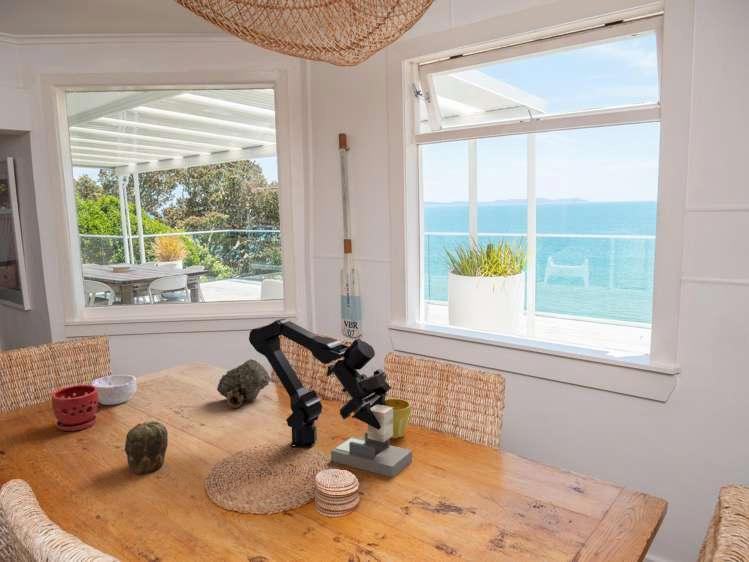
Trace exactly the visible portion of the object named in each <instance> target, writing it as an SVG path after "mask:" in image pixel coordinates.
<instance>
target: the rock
mask: <svg viewBox="0 0 749 562" xmlns="http://www.w3.org/2000/svg"><path fill="white" fill-rule="evenodd" d="M271 379H272V378H271V376H270V375H269V373H268V371H267V370H266V369H265V366H264V365H263V364H261V363H260V362H258V361H257V360H255V359H248V360H245V362H244V363H243V364H240V365H238V366H236V367H234V368H232V369H230V370H227V371H226V374H223V375H222V376H221V377H220V379H219V380H218V381H219V382H218V384H217V388H216V390H217V392H218V393H219V394H220V396H223V397H224V398H226V399H225V400H226V403H227V405H228V406H229V408H231V409H237V408H240V407H241V405H242V401H247V402H248V401H253V400H255V399H257V397H258V395H259V393H260V392H261V390H263V389H264V388H265V387H267V386H268V385H269V382H270V381H271ZM252 399H253V400H252Z"/></svg>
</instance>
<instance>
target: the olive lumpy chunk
mask: <svg viewBox="0 0 749 562" xmlns="http://www.w3.org/2000/svg"><path fill="white" fill-rule="evenodd" d="M168 436H169V434H168V429H167V427H166V426H165V425H164V424H163V423H162V422H159V421H157V420H151V421H148V420H147V421H144V422H143V423H138V424H135V426H134V427H132V428H131V429H129V431H127V434H126V438H125V446H124V451H125V454H126V458H127V465H128V469H130V471H131V472H132V473H134V474H138V475H144V474H147V473H148V474H149V473H151V472H155V471H157V470H159V469H160V468H161V467H162V466H163V465H164V463H165V457H166V453H167V448H168V443H169V442H168Z"/></svg>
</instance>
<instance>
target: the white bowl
mask: <svg viewBox="0 0 749 562" xmlns="http://www.w3.org/2000/svg"><path fill="white" fill-rule="evenodd" d="M90 385H91V386H95V387H96V388H97V390H98V403H100V404H101V405H104V406H112V405H113V406H114V405H119V404H124V403H126V402H128V401H129V400H130V399H131V397H132V395H133V394H135V393H136V392H137V390H138V388H137V386H138V384H137V377H136V376H134V375H131V374H112V375H111V374H110V375H106V376H103V377H99V378H97V379H94V380H92V381H91V383H90Z"/></svg>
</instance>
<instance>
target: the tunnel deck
mask: <svg viewBox="0 0 749 562" xmlns="http://www.w3.org/2000/svg"><path fill="white" fill-rule="evenodd" d="M390 439H391V438H389V439H388V440H386V441H385V442H380V441H377V440H373V439H369V438H368V431H365V432H364V438H361V437H356V436H350V437H349V438H347V440H345V441H343V442H342V443H340V444H338V446H336V447H334V448H332V449H331V450H330V460H332V461H331V462H334V463H337V464H338V463H339V464H341V465H345V466H349V467H352V468H356V469H359V470H363V471H367V472H371V473H375V474H378V475H382V476H386V477H388V478H394V477H396V476H397V475H398V474H400V472H401V471H402V470H403V469H405V468H406V467H407V466H408V465H409V464H411V462H413V450H411V449H407V448H405V447H404V448H403V447H398V446H394V445H390V443H391V442H390Z"/></svg>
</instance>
